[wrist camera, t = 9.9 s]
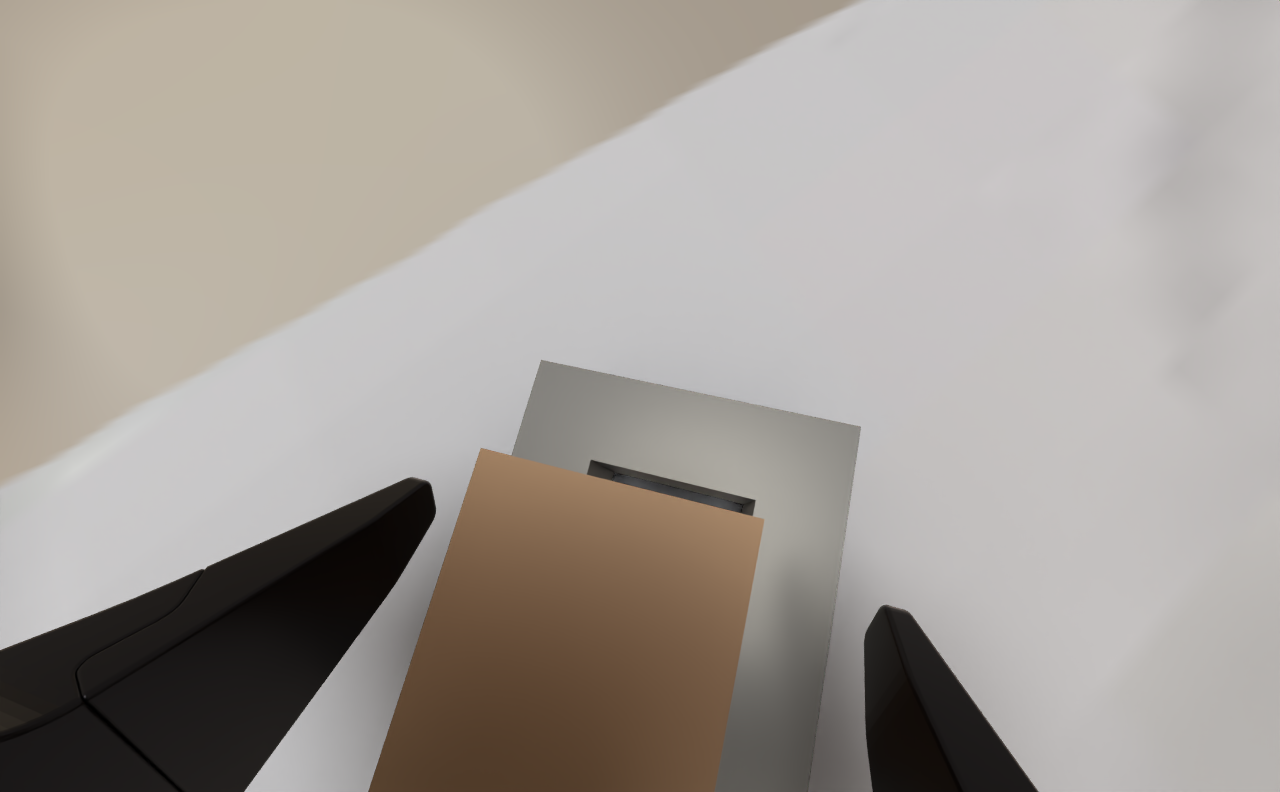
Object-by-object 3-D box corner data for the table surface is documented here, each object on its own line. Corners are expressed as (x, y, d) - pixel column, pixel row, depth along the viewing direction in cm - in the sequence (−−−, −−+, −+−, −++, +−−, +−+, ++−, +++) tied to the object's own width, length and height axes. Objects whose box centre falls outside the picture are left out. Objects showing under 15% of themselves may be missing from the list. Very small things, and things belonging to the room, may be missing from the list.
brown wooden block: (689, 665, 16) (659, 1090, 4) (593, 634, 17) (324, 927, 5) (719, 519, 17) (765, 519, 5) (628, 496, 18) (480, 448, 6)
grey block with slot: (765, 816, 15) (788, 920, 11) (479, 712, 17) (413, 770, 13) (825, 447, 17) (861, 426, 14) (573, 391, 19) (541, 359, 15)
